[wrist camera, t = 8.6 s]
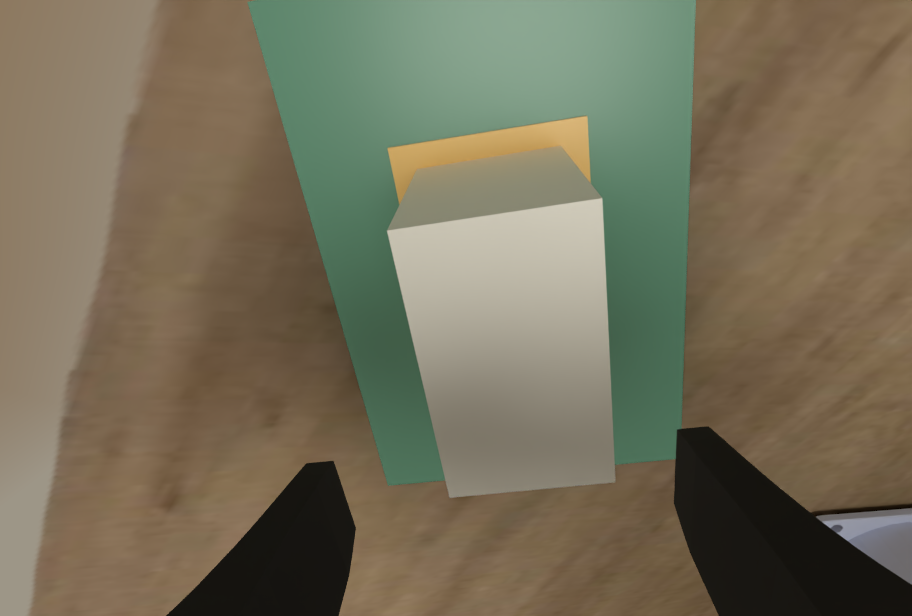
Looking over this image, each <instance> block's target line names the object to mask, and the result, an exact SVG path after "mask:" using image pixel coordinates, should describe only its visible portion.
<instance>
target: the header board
mask: <svg viewBox="0 0 912 616" xmlns="http://www.w3.org/2000/svg"><path fill="white" fill-rule="evenodd" d="M248 5H249V9H250V12H251V16H252V19H253V23H254V26H255V30H256V33H257V36H258V40H259V43H260V47H261V50H262V54H263V57H264V61H265V64H266V67H267V71H268V74H269V78H270V81H271V85H272V88H273V91H274V95H275V98H276V102H277V105H278V109H279V112H280V116H281V119H282V122H283V126H284V129H285V133H286V136H287V140H288V143H289V146H290V150H291V153H292V157H293V160H294V164H295V167H296V171H297V174H298V177H299V181H300V184H301V188H302V191H303V195H304V198H305V202H306V205H307V208H308V212H309V215H310V219H311V222H312V226H313V229H314V232H315V236H316V239H317V243H318V246H319V250H320V253H321V257H322V260H323V263H324V267H325V270H326V274H327V277H328V281H329V284H330V288H331V291H332V294H333V298H334V301H335V305H336V308H337V312H338V315H339V318H340V322H341V325H342V329H343V332H344V336H345V339H346V343H347V346H348V349H349V353H350V356H351V360H352V363H353V367H354V370H355V374H356V377H357V380H358V384H359V387H360V391H361V394H362V398H363V401H364V404H365V408H366V411H367V415H368V418H369V422H370V425H371V429H372V432H373V435H374V439H375V442H376V446H377V449H378V453H379V456H380V460H381V463H382V466H383V470H384V473H385V477H386V480H387V484H388V486H389V485H400V484H411V483H422V482H432V481H443V480H445V476H444V472H443V468H442V464H441V459H440V455H439V451H438V447H437V442H436V438H435V434H434V429H433V425H432V421H431V417H430V412H429V408H428V404H427V400H426V395H425V391H424V387H423V382H422V378H421V374H420V370H419V365H418V361H417V357H416V353H415V348H414V344H413V340H412V336H411V331H410V327H409V323H408V318H407V314H406V310H405V306H404V301H403V297H402V293H401V289H400V284H399V280H398V276H397V271H396V267H395V263H394V259H393V254H392V250H391V246H390V242H389V237H388V233H387V230H388V227H389V225H390V223H391V221H392V219H393V217H394V215H395V213H396V211H397V209H398V207H399V205H400V203H401V201H402V199H403V197H404V195H405V193H406V191H407V189H408V187H409V185H410V183H411V180H412V178H413V176H414V174H415V172H416V170H417V169H420V168H426V167H432V166H438V165H444V164H451V163H457V162H463V161H469V160H475V159H481V158H487V157H494V156H500V155H506V154H512V153H518V152H524V151H530V150H537V149H543V148H549V147H555V146H562V148H563V149H564V150H565V152H566V153H567V154H568V155H569V157H570V158H571V159H572V160H573V162H574V163H575V164H576V165H577V167H578V168H579V169H580V171H581V172H582V173H583V174H584V176H585V177H586V178H587V179H588V181H589V182H590V183H591V184H592V186H593V187H594V188H595V189H596V191H597V192H598V193H599V195H600V196H601V197H602V201H603V223H604V244H605V266H606V288H607V309H608V331H609V352H610V374H611V396H612V417H613V439H614V460H615V465H617V464H627V463H638V462H649V461H660V460H671V459H676V437H677V429H681V425H682V396H683V366H684V336H685V306H686V276H687V246H688V216H689V186H690V156H691V126H692V97H693V67H694V37H695V7H696V0H255V1H250V2H248Z"/></svg>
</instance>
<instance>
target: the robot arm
mask: <svg viewBox="0 0 912 616" xmlns="http://www.w3.org/2000/svg"><path fill="white" fill-rule="evenodd" d="M674 505H675V508H676V511H677V514H678V517H679V520H680V524H681V527H682V530H683V533H684V536H685V539H686V542H687V545H688V548H689V550H690V553H691V555H692V558H693V560H694V562H695V564H696V567H697V569H698V571H699V573H700V575H701V578H702V580H703V582H704V584H705V586H706V589H707V591H708V593H709V595H710V597H711V599H712V602H713V604H714V606H715V608H716V610H717V612H718V614H719V616H912V508H908V509H895V510H882V511H870V512H857V513H844V514H832V515H820V516H816V517H815V516H814V515H813V514H811V513H810V512H809V511H807V510H806V509H805V508H804V507H802V506H801V505H800V504H799V503H798V502H796V501H795V500H794V499H793V498H791V497H790V496H789V495H788V494H786V493H785V492H784V491H783V490H781V489H780V488H779V487H778V486H777V485H775V484H774V483H773V482H772V481H771V480H769V479H768V478H767V477H766V476H765V475H763V474H762V473H761V472H760V471H759V470H758V469H757V468H755V467H754V466H753V465H752V464H751V463H750V462H748V461H747V460H746V459H745V458H744V457H743V456H742V455H740V454H739V453H738V452H737V451H736V450H735V449H734V448H732V447H731V446H730V445H729V444H728V443H727V442H726V441H725V440H723V439H722V438H721V437H720V436H719V435H718V434H717V433H715V432H714V431H713V430H712V429H711V428H709V427H697V428H687V429H677V437H676V464H675V491H674ZM355 530H356V527H355V524H354V521H353V518H352V515H351V512H350V509H349V506H348V503H347V500H346V497H345V494H344V491H343V488H342V485H341V482H340V479H339V476H338V473H337V470H336V467H335V464H334V461H327V462H316V463H307V464H306V465H305V466H304V467H303V468H302V469H301V470H300V471H299V473H298V474H297V475H296V476H295V477H294V478H293V480H292V481H291V482H290V483H289V484H288V485H287V487H286V488H285V489H284V490H283V491H282V493H281V494H280V495H279V496H278V497H277V498H276V500H275V501H274V502H273V503H272V504H271V505H270V507H269V508H268V509H267V510H266V511H265V513H264V514H263V515H262V516H261V517H260V518H259V519H258V521H257V522H256V523H255V524H254V525H253V526H252V527H251V529H250V530H249V531H248V532H247V533H246V534H245V535H244V537H243V538H242V539H241V540H240V541H239V542H238V543H237V544H236V545H235V547H234V548H233V549H232V550H231V551H230V552H229V553H228V554H227V555H226V556H225V557H224V558H223V559H222V560H221V561H220V562H219V563H218V565H217V566H216V567H215V568H214V569H213V570H212V571H211V572H210V573H209V574H208V575H207V576H206V577H205V578H204V579H203V580H202V581H201V582H200V584H199V585H198V586H197V587H196V588H195V589H194V590H193V591H192V592H191V593H190V594H189V595H187V596H186V597H185V598H184V599H183V600H182V601H181V602H180V603H179V604H178V605H177V606H176V607H175V608H174V609H173V610H172V611H171V612H170V613H169V614H167V615H166V616H339V612H340V608H341V604H342V600H343V597H344V593H345V589H346V585H347V581H348V577H349V572H350V566H351V559H352V553H353V545H354V538H355Z"/></svg>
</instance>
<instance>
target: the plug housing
mask: <svg viewBox="0 0 912 616" xmlns="http://www.w3.org/2000/svg"><path fill="white" fill-rule="evenodd" d="M387 233H388V237H389V242H390V246H391V250H392V254H393V259H394V263H395V267H396V271H397V276H398V280H399V284H400V289H401V293H402V297H403V301H404V306H405V310H406V314H407V318H408V323H409V327H410V331H411V336H412V340H413V344H414V348H415V353H416V357H417V361H418V365H419V370H420V374H421V378H422V382H423V387H424V391H425V395H426V400H427V404H428V408H429V412H430V417H431V421H432V425H433V429H434V434H435V438H436V442H437V447H438V451H439V455H440V459H441V464H442V468H443V472H444V476H445V481H446V485H447V489H448V493H449V498H452V497H463V496H474V495H484V494H495V493H506V492H516V491H527V490H538V489H548V488H559V487H570V486H581V485H591V484H602V483H613V482H615V460H614V439H613V417H612V396H611V374H610V352H609V331H608V309H607V288H606V266H605V244H604V223H603V201H602V197H601V196H600V195H599V193H598V192H597V191H596V189H595V188H594V187H593V186H592V184H591V183H590V182H589V181H588V179H587V178H586V177H585V176H584V174H583V173H582V172H581V171H580V169H579V168H578V167H577V165H576V164H575V163H574V162H573V160H572V159H571V158H570V157H569V155H568V154H567V153H566V152H565V150H564V149H563V148H562V146H555V147H549V148H543V149H537V150H530V151H524V152H518V153H512V154H506V155H500V156H494V157H487V158H481V159H475V160H469V161H463V162H457V163H451V164H444V165H438V166H432V167H426V168H420V169H417V170H416V172H415V174H414V176H413V178H412V180H411V183H410V185H409V187H408V189H407V191H406V193H405V195H404V197H403V199H402V201H401V203H400V205H399V207H398V209H397V211H396V213H395V215H394V217H393V219H392V221H391V223H390V225H389V227H388V230H387Z"/></svg>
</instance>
